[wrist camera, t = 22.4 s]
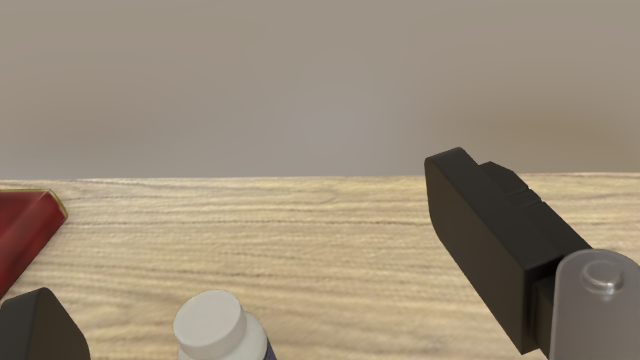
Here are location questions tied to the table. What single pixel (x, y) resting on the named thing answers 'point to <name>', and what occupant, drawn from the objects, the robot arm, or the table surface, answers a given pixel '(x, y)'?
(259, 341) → the pill bottle
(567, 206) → the table surface
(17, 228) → the hardcover book
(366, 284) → the table surface
